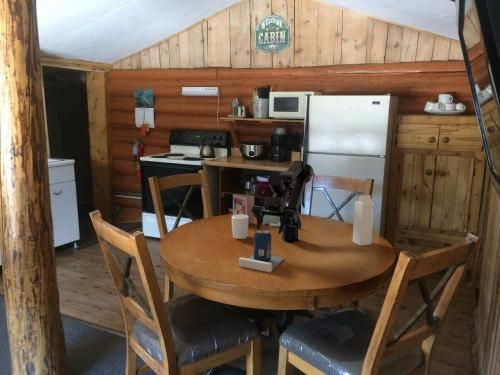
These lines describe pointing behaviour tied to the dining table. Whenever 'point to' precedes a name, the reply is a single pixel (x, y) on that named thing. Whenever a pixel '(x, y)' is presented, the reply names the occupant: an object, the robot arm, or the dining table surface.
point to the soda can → (262, 245)
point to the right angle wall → (271, 221)
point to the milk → (363, 220)
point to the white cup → (239, 226)
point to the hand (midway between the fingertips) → (268, 232)
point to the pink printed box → (243, 206)
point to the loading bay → (260, 263)
